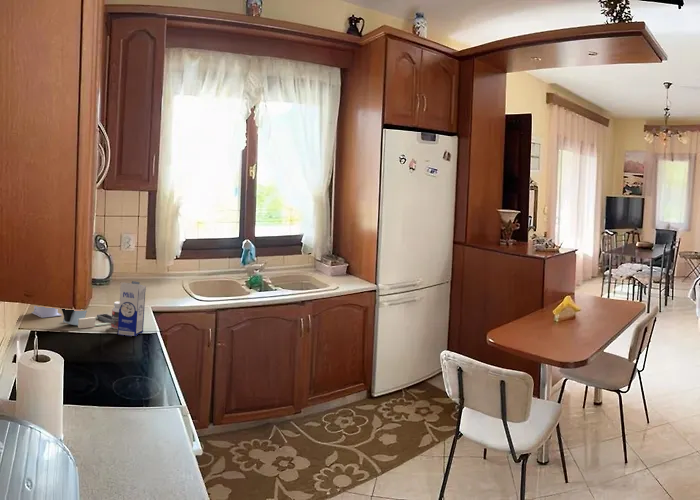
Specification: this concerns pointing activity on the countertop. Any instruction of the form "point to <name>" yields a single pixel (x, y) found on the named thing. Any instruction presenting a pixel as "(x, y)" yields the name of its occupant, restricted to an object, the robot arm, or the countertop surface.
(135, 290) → the milk carton
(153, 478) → the countertop surface
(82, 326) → the channel
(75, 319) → the block
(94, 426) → the countertop surface
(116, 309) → the pill bottle
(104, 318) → the pit tray
